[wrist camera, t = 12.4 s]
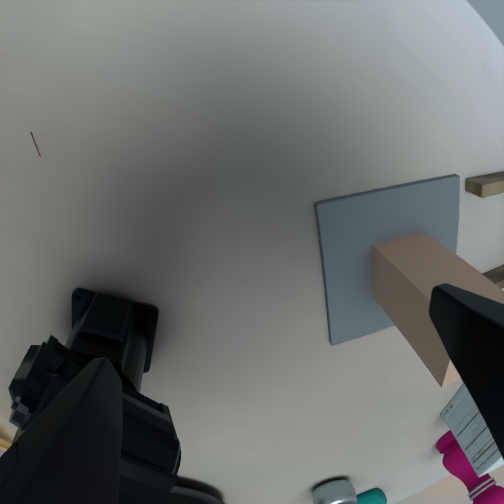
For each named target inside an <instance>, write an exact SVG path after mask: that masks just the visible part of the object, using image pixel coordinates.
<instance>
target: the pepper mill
mask: <svg viewBox="0 0 504 504" xmlns="http://www.w3.org/2000/svg"><path fill="white" fill-rule="evenodd" d="M436 447H437V449H438V450H439V452H440V453H441V454H444V457H443V465H444V467H445V468H446V469H447V470H448V471H449V472H450V473H451V474H453V475H454V476H456V477H457V478H459V479H460V480H461V481H462V482H463V483H464V484H465V486H466V487H467V489H468V491H469V494H468V496H469V497H470V500H473V504H504V488H503V487H501V486H496V485H495V483H496V481H495V480H494V477H490V475H489V474H488V473H486V474H484V475H482V476H480V477H478V476H477V474H476V472H475V470H474V469H473V467H472V465H471V463H470V462H469V460H468V458H467V457H466V455H465V453H464V452H463V450H462V448H461V447H460V445H459V443H458V441H457V440H456V438H455V437H454V435H453V433H452V432H451V430H450V431H449V432H448V433H446V434H445V435H444V436H443V437H442V438H441V439H440V440H439V441H438V443H437V445H436Z"/></svg>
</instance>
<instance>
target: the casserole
mask: <svg viewBox="0 0 504 504" xmlns="http://www.w3.org/2000/svg"><path fill="white" fill-rule="evenodd" d="M164 504H224V503H223V502H222V501H221V500H220V499H218V498H216V497H215V496H212V495H210V494H207V493H205V492H202V491H199V490H195V489H191V488H186V487H182V486H177V485H174V486H173V488H172V489H171V491H170V492H169V495H168V497H167V499H166V501H165V503H164Z"/></svg>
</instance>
